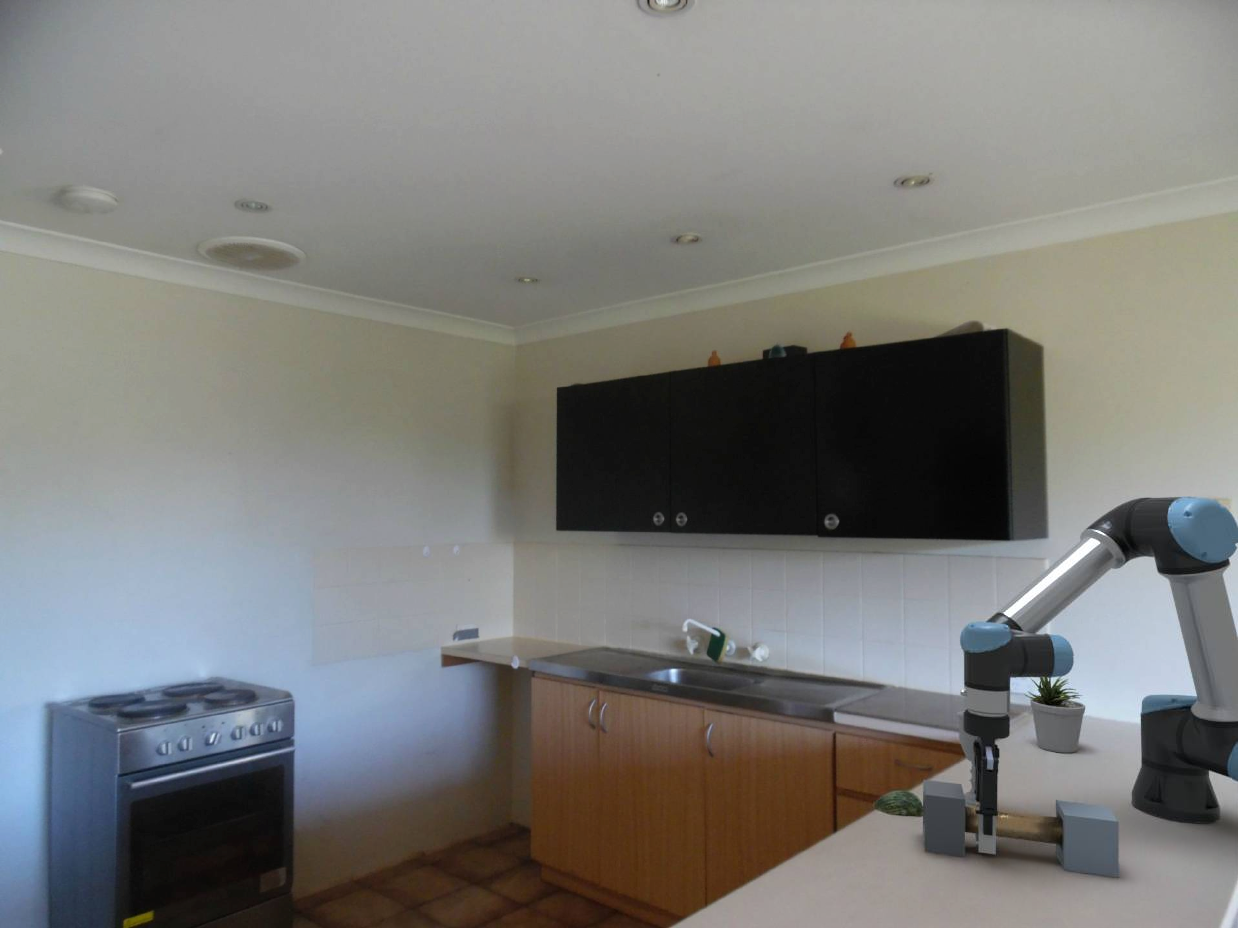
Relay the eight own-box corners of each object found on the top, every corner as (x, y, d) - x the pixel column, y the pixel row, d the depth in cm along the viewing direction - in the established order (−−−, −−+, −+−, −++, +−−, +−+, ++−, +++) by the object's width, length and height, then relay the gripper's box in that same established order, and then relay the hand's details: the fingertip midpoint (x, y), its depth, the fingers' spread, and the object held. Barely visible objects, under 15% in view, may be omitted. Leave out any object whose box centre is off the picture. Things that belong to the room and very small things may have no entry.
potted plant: (1030, 738, 230) (1030, 662, 231) (1088, 748, 222) (1088, 669, 223) (1020, 748, 220) (1020, 668, 221) (1081, 758, 212) (1081, 676, 213)
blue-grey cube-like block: (1106, 859, 149) (1107, 805, 149) (1118, 877, 141) (1118, 821, 142) (1055, 852, 151) (1055, 799, 152) (1064, 869, 144) (1064, 814, 144)
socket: (960, 838, 156) (961, 783, 157) (964, 857, 148) (965, 799, 148) (922, 833, 158) (923, 779, 159) (924, 851, 150) (925, 794, 150)
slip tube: (1069, 840, 149) (1069, 815, 149) (1074, 850, 145) (1074, 823, 145) (932, 823, 156) (932, 798, 156) (933, 831, 152) (934, 806, 152)
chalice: (995, 813, 170) (996, 720, 171) (959, 809, 172) (960, 718, 173) (987, 801, 178) (988, 712, 179) (952, 797, 179) (953, 709, 180)
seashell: (899, 778, 178) (937, 793, 170) (900, 798, 178) (937, 814, 169) (862, 787, 174) (898, 803, 165) (863, 808, 174) (899, 825, 165)
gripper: (959, 699, 162) (958, 826, 160) (967, 720, 145) (966, 862, 144) (1003, 703, 159) (1002, 832, 158) (1016, 725, 143) (1015, 869, 142)
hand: (985, 846), depth 151 cm, fingers closed on slip tube, 4 cm apart
